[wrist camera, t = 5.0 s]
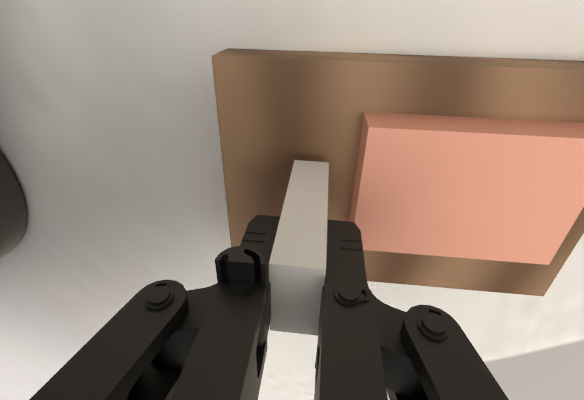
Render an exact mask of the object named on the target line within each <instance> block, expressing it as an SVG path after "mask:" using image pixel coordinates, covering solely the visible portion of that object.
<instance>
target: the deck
mask: <svg viewBox="0 0 584 400" xmlns="http://www.w3.org/2000/svg"><path fill="white" fill-rule="evenodd" d="M212 64H213V74H214V83H215V93H216V103H217V112H218V122H219V132H220V141H221V151H222V161H223V170H224V180H225V190H226V200H227V209H228V219H229V229H230V238H231V247H235V246H240V244H241V241H242V238H243V236H244V234H245V231H246V228H247V225H248V223H249V222H250V221H251V220H252V219H253V218H254V217H255V216H256V215H268V216H281V212H282V208H283V204H284V200H285V196H286V192H287V188H288V184H289V180H290V176H291V172H292V168H293V164H294V160H302V161H316V162H329V177H328V215H327V220H338V221H349V216H350V208H351V201H352V194H353V187H354V180H355V173H356V166H357V158H358V151H359V144H360V137H361V130H362V123H363V116H364V112H376V113H396V114H417V115H437V116H458V117H478V118H499V119H520V120H540V121H561V122H581V123H584V61H564V60H536V59H508V58H480V57H451V56H423V55H395V54H367V53H339V52H310V51H282V50H254V49H226V50H224V51H222V52H219V53H217V54H215V55H213V56H212ZM583 233H584V207H583V209H582V210H581V212H580V214H579V215H578V217H577V219H576V220H575V222H574V224H573V225H572V227H571V229H570V230H569V232H568V234H567V235H566V237H565V239H564V240H563V242H562V244H561V245H560V247H559V249H558V250H557V252H556V254H555V255H554V257H553V259H552V261H551V262H550V264H549V265H544V264H532V263H519V262H507V261H494V260H482V259H469V258H457V257H444V256H432V255H419V254H407V253H394V252H382V251H369V250H363V253H364V261H365V269H366V277H367V281H374V282H386V283H397V284H409V285H420V286H432V287H443V288H455V289H466V290H478V291H489V292H501V293H512V294H524V295H535V296H544V295H545V293H546V292H547V290H548V288H549V287H550V285H551V284H552V282H553V280H554V279H555V277H556V276H557V274H558V273H559V271H560V269H561V268H562V266H563V265H564V263H565V261H566V260H567V258H568V257H569V255H570V254H571V252H572V250H573V249H574V247H575V246H576V244H577V242H578V241H579V239H580V238H581V236H582V235H583Z"/></svg>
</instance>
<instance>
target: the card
mask: <svg viewBox="0 0 584 400" xmlns="http://www.w3.org/2000/svg"><path fill="white" fill-rule="evenodd" d="M583 207H584V123H581V122H561V121H540V120H520V119H499V118H478V117H458V116H437V115H417V114H396V113H376V112H364V116H363V123H362V130H361V137H360V144H359V151H358V158H357V166H356V173H355V180H354V187H353V194H352V201H351V208H350V216H349V221H350V222H354V223H355V224H356V225H357V227H358V228H359V229H360V231H361V236H362V245H363V250H369V251H382V252H394V253H407V254H419V255H432V256H444V257H457V258H469V259H482V260H494V261H507V262H519V263H532V264H544V265H549V264H550V262H551V261H552V259H553V257H554V255H555V254H556V252H557V250H558V249H559V247H560V245H561V244H562V242H563V240H564V239H565V237H566V235H567V234H568V232H569V230H570V229H571V227H572V225H573V224H574V222H575V220H576V219H577V217H578V215H579V214H580V212H581V210H582V209H583Z"/></svg>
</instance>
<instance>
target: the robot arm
mask: <svg viewBox="0 0 584 400" xmlns="http://www.w3.org/2000/svg"><path fill="white" fill-rule="evenodd" d="M328 177H329V162H316V161H302V160H294V164H293V168H292V172H291V176H290V180H289V184H288V188H287V192H286V196H285V200H284V204H283V208H282V212H281V216H268V215H256V216H255V217H254V218H253V219H252V220H251V221H250V222H249V223H248V225H247V228H246V231H245V234H244V236H243V238H242V241H241V244H240V246H235V247H231V248H228V249H226V250H224V251H223V252H221V253H220V254H219V255H218V256H217V258H216V259H215V264H216V272H217V279H218V283H217V284H215V285H212V286H210V287H206V288H201V289H195V290H189V291H186V290H185V288H184V286H183V285H182V284H180V283H179V282H177V281H173V280H162V281H156V282H154V283H151V284H149V285H147V286H145V287H144V288H143V289H141V290H140V291H139V292H138V293H137V294H136V295H135V296H134V297H133V298H132V299H131V300H130V301H129V302H128V303H127V304H126V305H125V306H124V307H123V308H122V309H121V310H120V311H119V312H118V313H117V314H116V315H115V316H114V317H113V318H112V319H110V320H109V321H108V322H107V323H106V324H105V325H104V326H103V327H102V328H101V329H100V330H99V331H98V332H97V333H96V334H95V335H94V336H93V337H92V338H91V339H90V340H89V341H88V342H87V343H86V344H85V345H84V346H83V347H82V348H81V349H80V350H79V351H78V352H77V353H76V354H75V355H74V356H73V357H72V358H71V359H70V360H69V361H68V362H67V363H66V364H65V365H64V366H63V367H62V368H61V369H60V370H59V371H58V372H57V373H56V374H55V375H54V376H53V377H52V378H51V379H50V380H49V381H48V382H47V383H46V384H45V385H44V386H43V387H42V388H41V389H40V390H39V391H38V392H37V393H36V394H35V395H34V396H33V397H32V398H31V399H30V400H258V394H259V389H260V384H261V378H262V373H263V368H264V362H265V357H266V352H267V335H268V330H269V324H270V330H274V331H283V332H292V333H301V334H310V335H318V345H317V354H316V363H315V368H316V375H315V395H314V400H388V399H387V393H388V395H389V398H390V400H508V398H507V396H506V395H505V394H504V392H503V390H502V389H501V387H500V386H499V385H498V383H497V382H496V380H495V378H494V377H493V376H492V374H491V373H490V371H489V370H488V368H487V366H486V365H485V363H484V362H483V360H482V359H481V357H480V356H479V354H478V353H477V351H476V350H475V348H474V347H473V345H472V344H471V342H470V341H469V339H468V338H467V336H466V335H465V333H464V332H463V330H462V329H461V327H460V326H459V324H458V323H457V322H456V321H455V320H454V319H453V318H452V317H451V316H450V315H449V314H447V313H446V312H444V311H443V310H441V309H439V308H436V307H433V306H430V305H418V306H414V307H411V308H410V309H409V310H408V311H407V312H404V311H401V310H399V309H396V308H393V307H391V306H389V305H386V304H384V303H383V302H381V301H380V300H378V299H377V298H376V297H375V296H374V295H373V294H372V292H371V290H370V289H369V287H368V284H367V277H366V269H365V261H364V253H363V245H362V236H361V231H360V229H359V228H358V227H357V225H356V224H355V223H354V222H350V221H338V220H327V215H328ZM26 220H27V214H26V206H25V201H24V198H23V194H22V191H21V189H20V186H19V184H18V182H17V179H16V177H15V176H14V174H13V172H12V170H11V168H10V167H9V165H8V163H7V162H6V160H5V159H4V157H3V156H2V154H1V153H0V258H1V257H2V256H3V255H5V254H6V253H7V252H9V251H10V250H11V249H12V248H14V247H15V246H16V245H17V244H18V243H19V241H20V240H21V238H22V236H23V234H24V231H25V228H26ZM386 390H387V392H386Z"/></svg>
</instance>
